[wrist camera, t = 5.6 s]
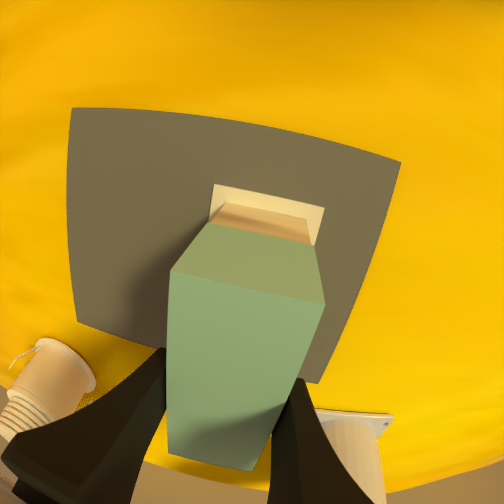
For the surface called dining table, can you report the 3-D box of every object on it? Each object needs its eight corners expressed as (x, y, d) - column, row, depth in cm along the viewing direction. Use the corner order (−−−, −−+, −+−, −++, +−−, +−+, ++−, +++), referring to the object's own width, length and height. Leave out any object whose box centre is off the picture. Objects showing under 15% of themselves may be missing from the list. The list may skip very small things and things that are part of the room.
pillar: (287, 288, 17) (286, 333, 13) (215, 272, 17) (195, 313, 13) (306, 218, 15) (312, 250, 11) (226, 201, 15) (206, 227, 11)
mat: (317, 379, 20) (318, 384, 19) (80, 318, 20) (76, 322, 20) (398, 161, 14) (401, 162, 13) (76, 107, 14) (70, 107, 14)
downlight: (26, 347, 23) (-24, 414, 14) (46, 319, 21) (-19, 401, 12) (83, 399, 25) (45, 472, 16) (114, 382, 23) (70, 473, 14)
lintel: (259, 411, 15) (251, 471, 12) (188, 395, 15) (168, 453, 12) (313, 245, 11) (325, 305, 7) (207, 222, 11) (170, 270, 8)
